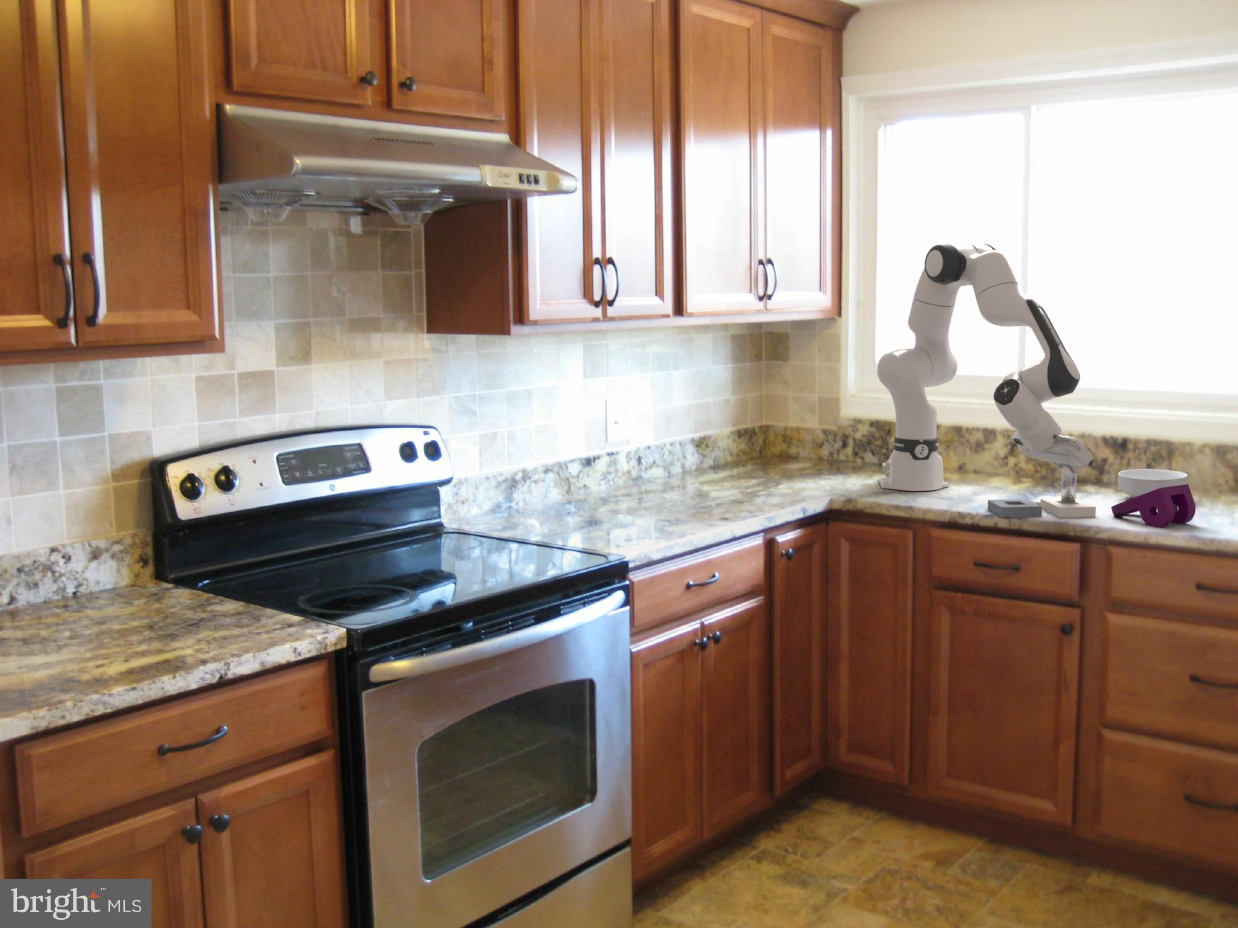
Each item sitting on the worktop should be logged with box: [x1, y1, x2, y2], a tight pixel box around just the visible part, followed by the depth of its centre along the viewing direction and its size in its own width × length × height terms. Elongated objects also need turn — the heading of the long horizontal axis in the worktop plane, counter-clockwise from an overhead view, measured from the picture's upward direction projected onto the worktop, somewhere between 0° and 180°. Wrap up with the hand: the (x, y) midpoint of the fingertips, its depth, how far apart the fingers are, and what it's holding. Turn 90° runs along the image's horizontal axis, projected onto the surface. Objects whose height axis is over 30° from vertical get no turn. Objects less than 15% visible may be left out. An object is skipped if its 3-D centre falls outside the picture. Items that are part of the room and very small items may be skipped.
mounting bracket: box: [1110, 483, 1197, 529], centre depth 289 cm, size 10×8×18 cm
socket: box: [987, 498, 1043, 518], centre depth 301 cm, size 10×10×2 cm
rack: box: [1039, 497, 1097, 519], centre depth 300 cm, size 12×9×2 cm
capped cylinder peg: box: [1060, 464, 1078, 503], centre depth 299 cm, size 3×3×15 cm
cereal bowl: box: [1117, 468, 1189, 498], centre depth 315 cm, size 17×17×7 cm
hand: (1071, 470), depth 299 cm, fingers closed on capped cylinder peg, 3 cm apart
